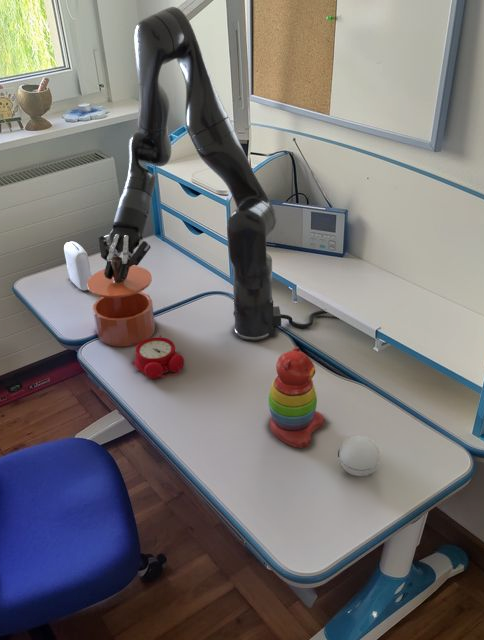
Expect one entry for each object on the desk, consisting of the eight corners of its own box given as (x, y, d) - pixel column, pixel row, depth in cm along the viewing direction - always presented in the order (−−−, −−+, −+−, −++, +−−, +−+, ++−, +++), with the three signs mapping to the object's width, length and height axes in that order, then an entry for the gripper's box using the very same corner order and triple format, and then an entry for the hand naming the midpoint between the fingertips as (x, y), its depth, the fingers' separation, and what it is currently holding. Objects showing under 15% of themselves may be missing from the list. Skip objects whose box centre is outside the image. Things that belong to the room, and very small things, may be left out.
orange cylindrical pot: (145, 310, 175) (142, 285, 171) (162, 337, 163) (159, 311, 159) (91, 323, 171) (87, 298, 167) (105, 351, 159) (100, 325, 155)
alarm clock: (165, 330, 159) (189, 347, 146) (169, 354, 161) (194, 373, 148) (124, 342, 155) (146, 361, 142) (129, 366, 158) (151, 387, 145)
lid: (141, 264, 168) (138, 240, 164) (160, 290, 156) (157, 265, 152) (81, 278, 164) (77, 253, 160) (96, 306, 152) (91, 280, 148)
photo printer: (67, 279, 192) (60, 240, 185) (81, 275, 194) (74, 236, 187) (81, 292, 185) (74, 252, 178) (95, 288, 187) (88, 248, 180)
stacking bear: (305, 451, 127) (307, 376, 117) (258, 434, 131) (257, 361, 122) (327, 419, 134) (332, 346, 124) (283, 404, 139) (284, 333, 129)
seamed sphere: (354, 451, 126) (357, 421, 122) (386, 471, 121) (390, 441, 117) (319, 476, 121) (320, 447, 117) (351, 498, 116) (353, 468, 112)
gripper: (100, 202, 158) (81, 270, 156) (152, 208, 153) (133, 278, 151) (114, 215, 165) (96, 280, 163) (164, 220, 160) (146, 288, 158)
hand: (114, 279), depth 157 cm, fingers closed on lid, 3 cm apart
